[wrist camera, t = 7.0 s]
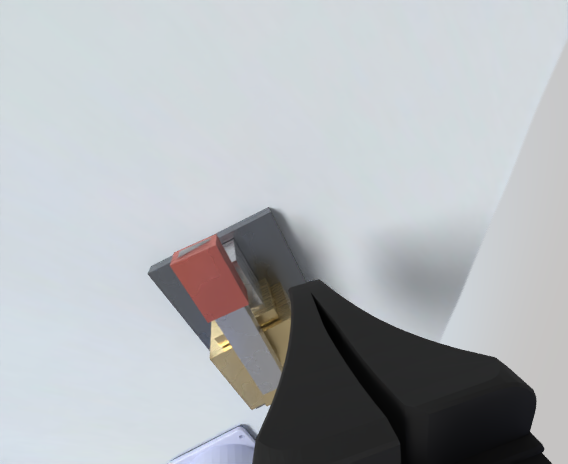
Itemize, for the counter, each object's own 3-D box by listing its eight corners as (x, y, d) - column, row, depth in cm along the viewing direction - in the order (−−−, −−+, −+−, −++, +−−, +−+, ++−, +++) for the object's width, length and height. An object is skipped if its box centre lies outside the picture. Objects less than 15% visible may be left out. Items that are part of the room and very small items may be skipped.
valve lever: (290, 368, 19) (297, 390, 17) (259, 382, 19) (263, 406, 17) (216, 231, 14) (215, 245, 13) (175, 249, 14) (169, 265, 13)
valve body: (342, 354, 26) (367, 403, 22) (255, 398, 26) (262, 457, 22) (268, 207, 20) (282, 235, 15) (151, 266, 20) (129, 312, 15)
